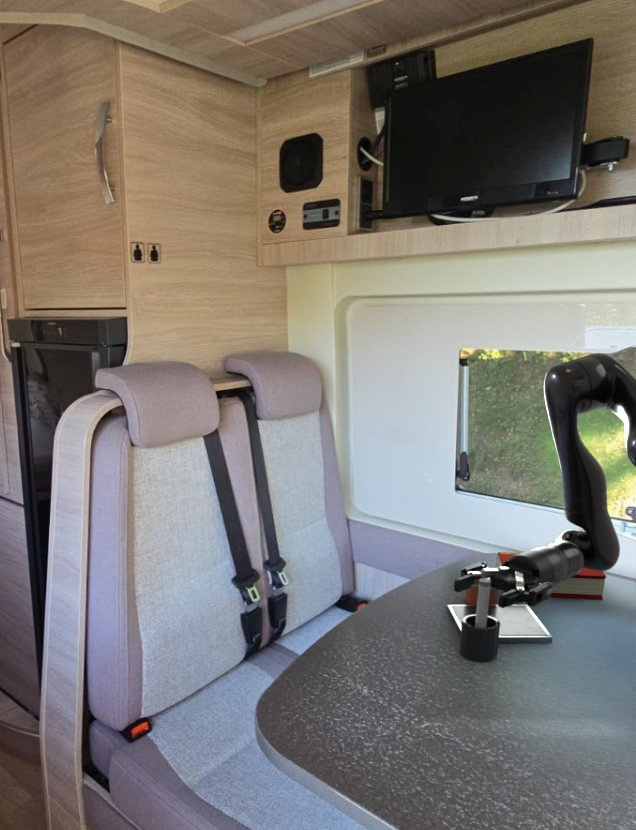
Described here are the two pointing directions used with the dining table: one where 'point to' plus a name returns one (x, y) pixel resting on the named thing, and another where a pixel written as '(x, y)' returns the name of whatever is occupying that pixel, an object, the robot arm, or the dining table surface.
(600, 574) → the book
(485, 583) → the stylus
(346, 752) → the dining table surface
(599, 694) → the dining table surface
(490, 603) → the pen cup
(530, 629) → the tablet
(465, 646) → the holder
